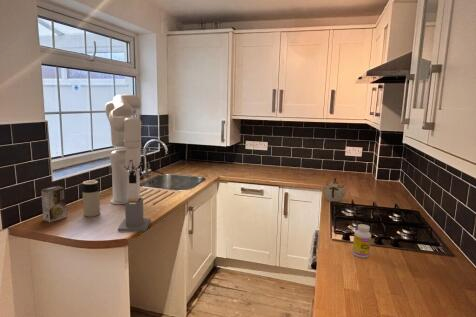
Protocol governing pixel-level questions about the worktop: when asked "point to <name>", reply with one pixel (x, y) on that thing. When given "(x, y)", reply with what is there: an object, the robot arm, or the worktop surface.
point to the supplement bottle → (362, 241)
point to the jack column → (134, 188)
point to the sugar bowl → (334, 191)
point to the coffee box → (54, 203)
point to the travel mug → (91, 198)
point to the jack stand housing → (134, 217)
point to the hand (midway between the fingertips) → (133, 181)
